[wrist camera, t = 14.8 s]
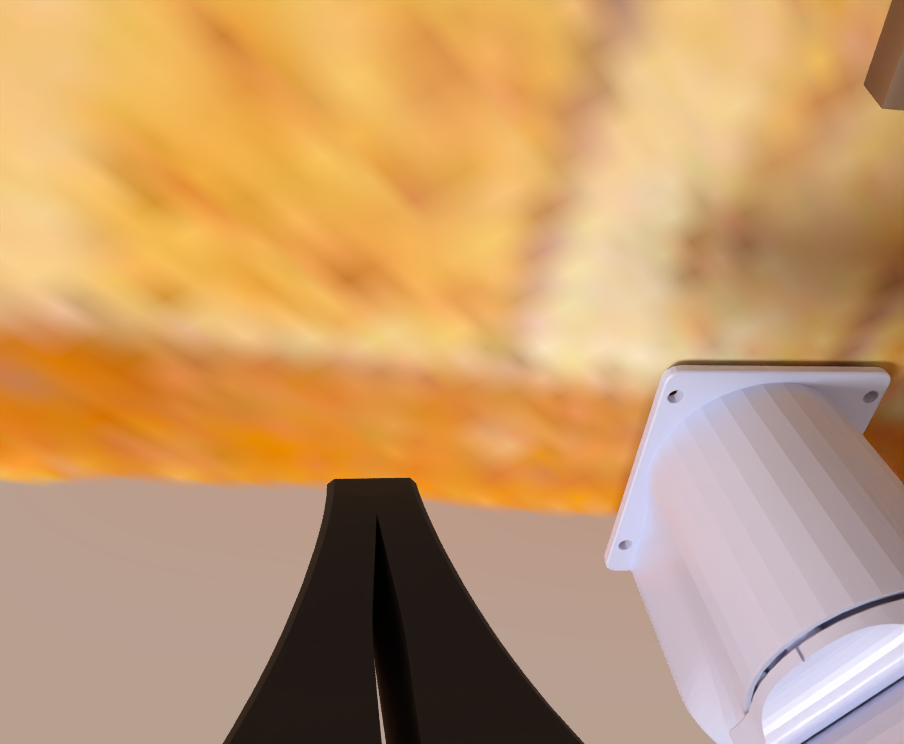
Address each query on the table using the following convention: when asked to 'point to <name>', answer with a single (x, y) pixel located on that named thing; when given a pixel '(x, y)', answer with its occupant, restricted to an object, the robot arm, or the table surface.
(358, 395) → the table surface
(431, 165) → the table surface
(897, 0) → the domino
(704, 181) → the table surface
